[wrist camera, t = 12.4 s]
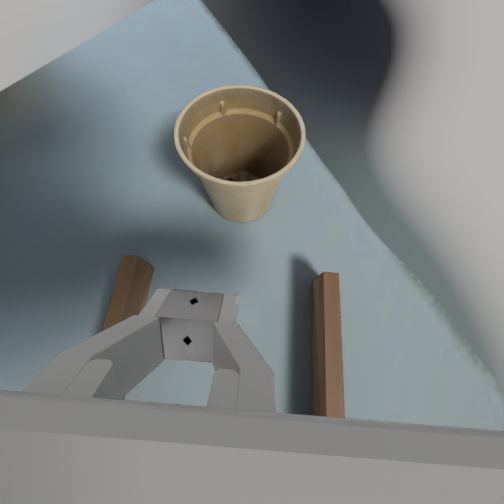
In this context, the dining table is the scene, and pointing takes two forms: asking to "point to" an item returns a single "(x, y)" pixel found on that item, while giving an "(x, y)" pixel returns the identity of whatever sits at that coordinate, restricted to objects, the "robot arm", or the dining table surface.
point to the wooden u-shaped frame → (323, 327)
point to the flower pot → (240, 146)
